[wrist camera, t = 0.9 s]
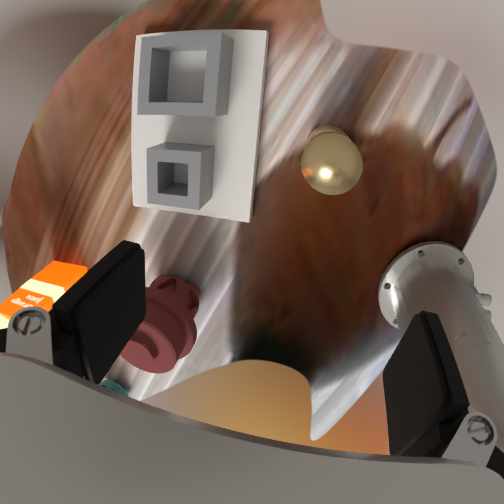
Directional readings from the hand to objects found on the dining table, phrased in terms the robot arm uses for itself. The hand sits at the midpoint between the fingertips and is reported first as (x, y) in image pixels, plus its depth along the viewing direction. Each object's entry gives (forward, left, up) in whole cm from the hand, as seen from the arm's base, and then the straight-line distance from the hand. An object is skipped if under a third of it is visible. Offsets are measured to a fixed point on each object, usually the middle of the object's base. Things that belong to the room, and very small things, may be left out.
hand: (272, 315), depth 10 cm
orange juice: (+33, +23, -25) cm, 47 cm away
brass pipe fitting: (-2, -2, -25) cm, 25 cm away
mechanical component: (+14, +19, -25) cm, 34 cm away
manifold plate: (+12, -3, -25) cm, 28 cm away
